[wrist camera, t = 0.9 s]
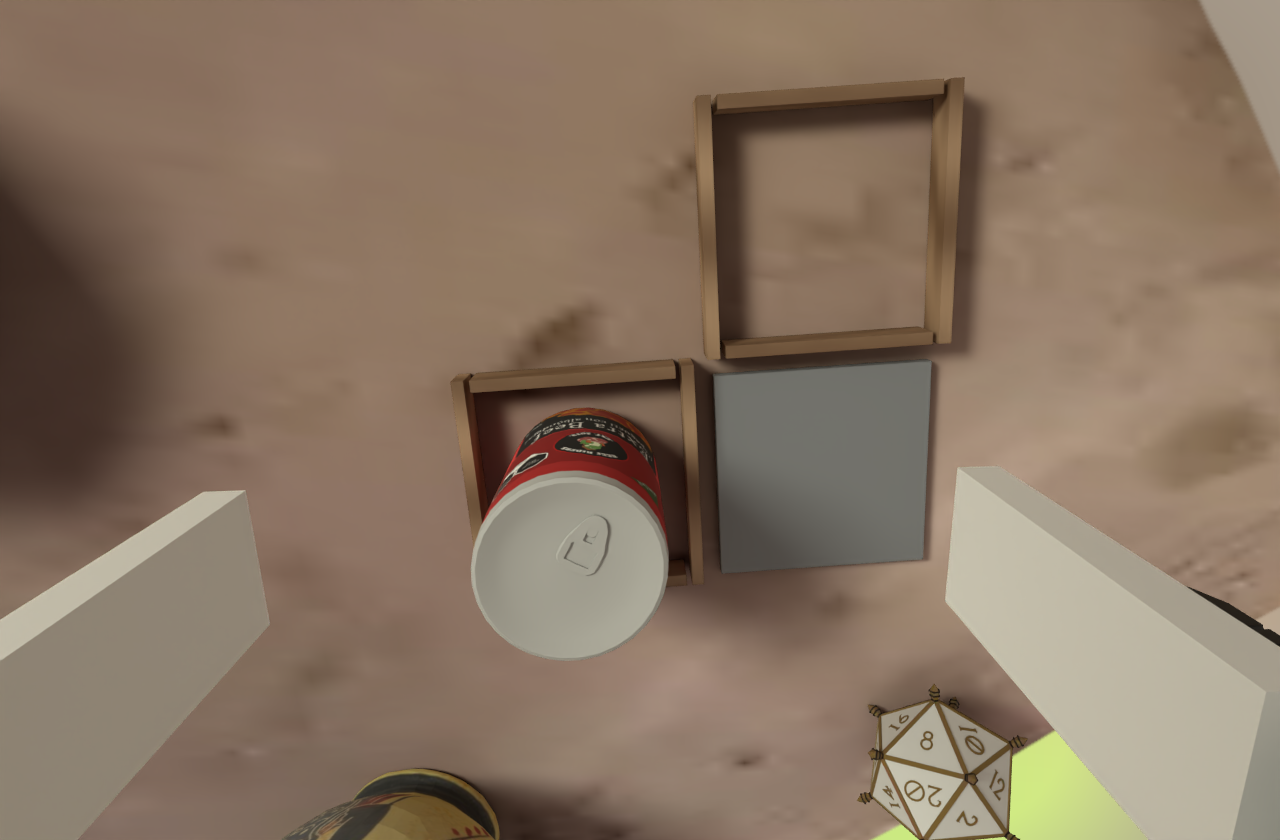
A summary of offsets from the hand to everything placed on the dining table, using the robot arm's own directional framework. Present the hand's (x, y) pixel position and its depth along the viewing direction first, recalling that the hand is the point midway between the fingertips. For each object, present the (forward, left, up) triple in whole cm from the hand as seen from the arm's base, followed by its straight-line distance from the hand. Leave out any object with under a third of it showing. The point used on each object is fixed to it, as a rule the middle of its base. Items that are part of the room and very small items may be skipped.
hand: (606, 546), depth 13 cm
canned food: (+7, -2, -24) cm, 25 cm away
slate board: (+8, +10, -24) cm, 27 cm away
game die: (+24, +16, -24) cm, 37 cm away
